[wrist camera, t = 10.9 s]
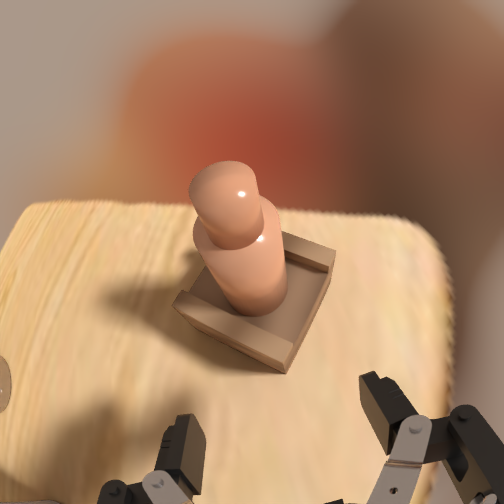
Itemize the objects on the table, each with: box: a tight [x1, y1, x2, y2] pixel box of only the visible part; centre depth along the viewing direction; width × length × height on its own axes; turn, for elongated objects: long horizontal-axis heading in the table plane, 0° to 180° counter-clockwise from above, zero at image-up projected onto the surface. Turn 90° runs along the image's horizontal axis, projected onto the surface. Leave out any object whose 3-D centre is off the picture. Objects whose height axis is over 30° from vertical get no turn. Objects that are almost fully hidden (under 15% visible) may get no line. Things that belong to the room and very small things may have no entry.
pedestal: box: [172, 231, 336, 374], centre depth 26 cm, size 10×10×6 cm
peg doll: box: [189, 161, 288, 317], centre depth 19 cm, size 5×5×12 cm
